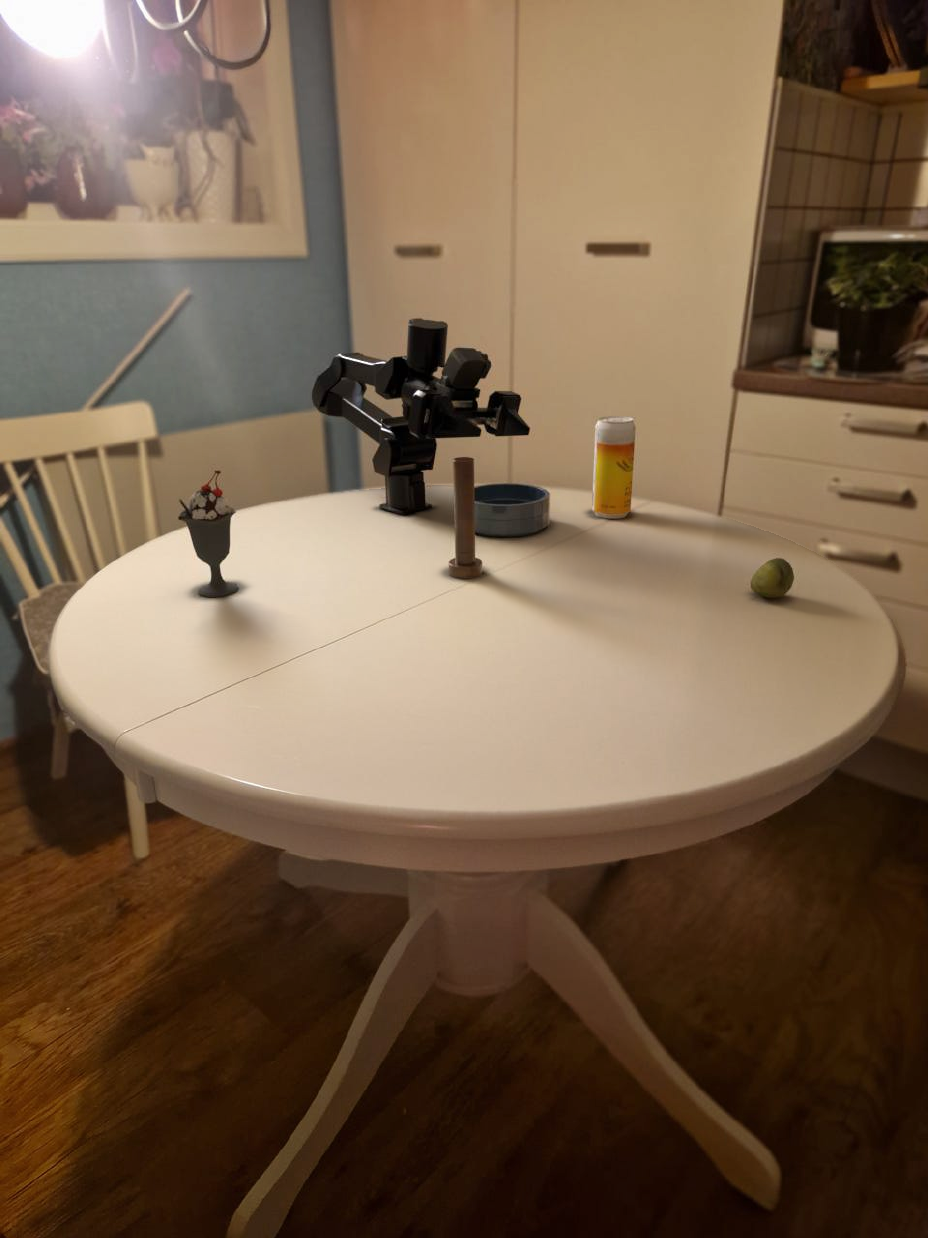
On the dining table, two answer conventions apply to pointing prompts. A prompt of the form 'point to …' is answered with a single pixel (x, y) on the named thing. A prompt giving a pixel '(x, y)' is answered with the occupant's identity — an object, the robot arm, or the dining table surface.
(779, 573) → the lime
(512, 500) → the bowl
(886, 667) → the dining table surface
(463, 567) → the stick
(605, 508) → the beer can
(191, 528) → the sundae
